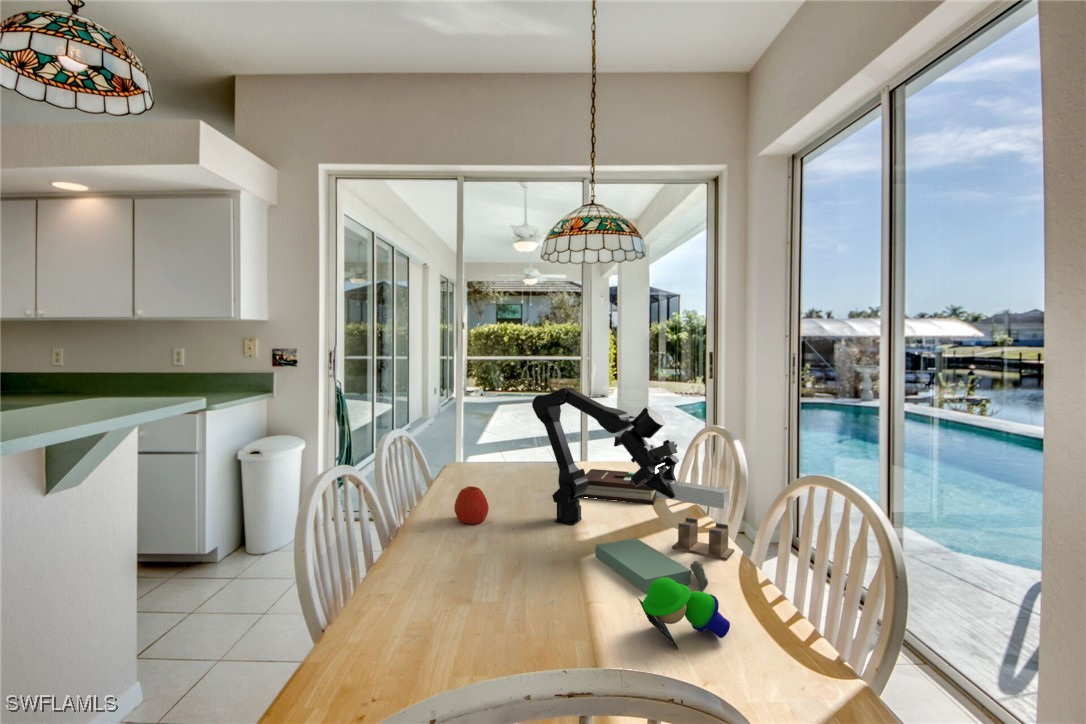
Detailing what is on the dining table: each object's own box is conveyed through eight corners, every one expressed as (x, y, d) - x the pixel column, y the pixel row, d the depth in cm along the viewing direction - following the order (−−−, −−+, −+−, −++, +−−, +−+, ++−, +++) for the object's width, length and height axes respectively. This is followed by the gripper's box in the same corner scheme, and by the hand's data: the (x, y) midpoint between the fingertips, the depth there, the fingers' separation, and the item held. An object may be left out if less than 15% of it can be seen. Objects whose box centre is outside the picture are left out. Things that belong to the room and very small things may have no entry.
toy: (684, 643, 106) (630, 590, 105) (723, 602, 106) (670, 549, 105) (701, 673, 97) (642, 615, 96) (745, 628, 97) (686, 571, 96)
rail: (656, 496, 146) (656, 481, 146) (662, 493, 149) (662, 478, 149) (723, 509, 135) (724, 493, 135) (729, 505, 138) (729, 489, 138)
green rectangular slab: (595, 556, 138) (595, 544, 138) (636, 549, 143) (636, 538, 143) (645, 593, 118) (645, 579, 118) (690, 583, 123) (691, 570, 123)
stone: (711, 595, 117) (711, 572, 117) (701, 595, 117) (701, 572, 117) (696, 571, 130) (696, 550, 130) (687, 570, 130) (688, 550, 130)
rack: (672, 548, 144) (672, 522, 143) (681, 540, 149) (681, 515, 149) (726, 560, 136) (726, 533, 135) (734, 551, 141) (734, 525, 141)
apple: (451, 517, 169) (451, 483, 168) (484, 514, 172) (484, 481, 171) (457, 528, 159) (457, 492, 159) (492, 524, 162) (491, 489, 162)
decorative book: (585, 465, 208) (667, 471, 198) (585, 485, 208) (666, 492, 198) (572, 477, 189) (660, 484, 180) (572, 499, 190) (660, 507, 180)
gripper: (642, 435, 140) (683, 485, 133) (672, 426, 154) (710, 470, 148) (615, 461, 145) (653, 511, 138) (647, 450, 159) (682, 494, 153)
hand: (676, 495), depth 144 cm, fingers closed on rail, 4 cm apart
